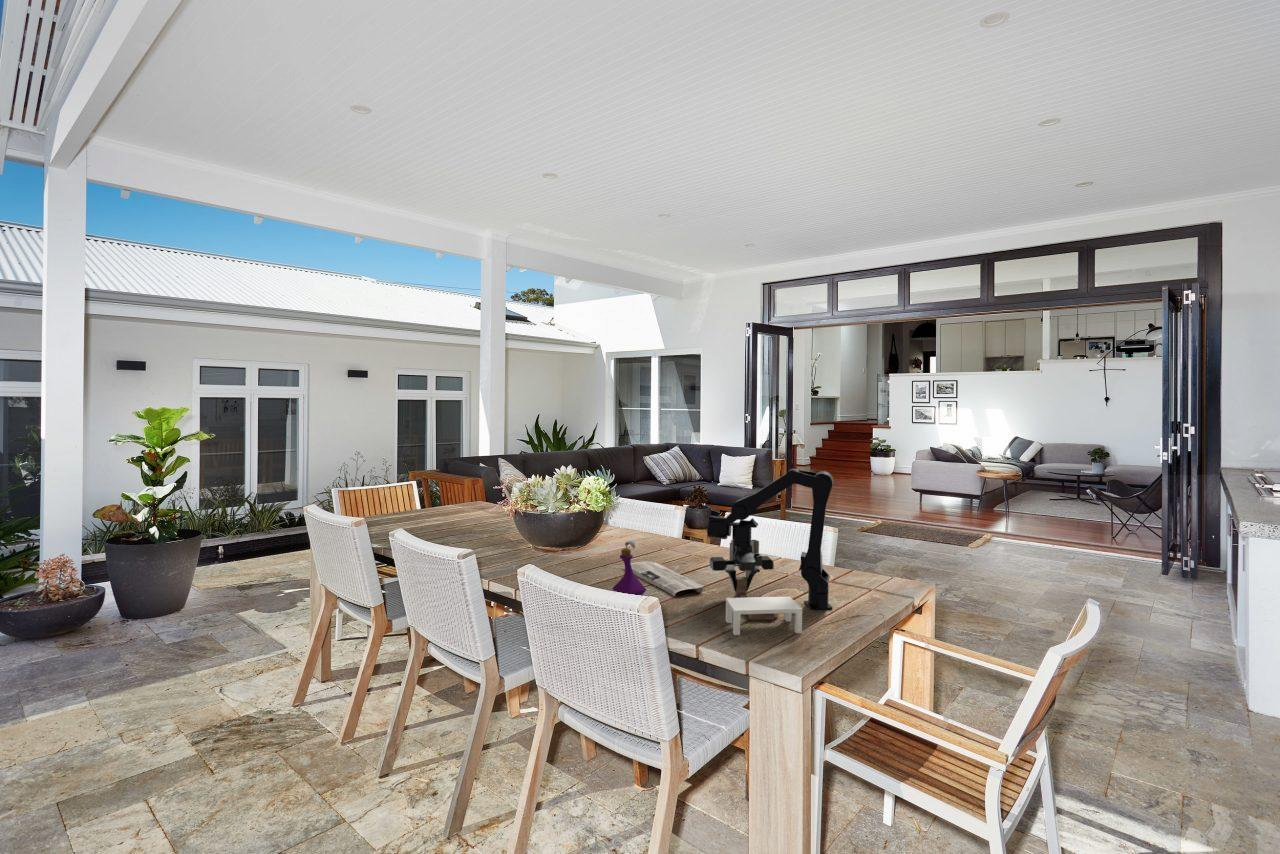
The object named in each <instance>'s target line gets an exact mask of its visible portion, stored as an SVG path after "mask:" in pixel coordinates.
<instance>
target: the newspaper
mask: <svg viewBox="0 0 1280 854" xmlns="http://www.w3.org/2000/svg"><path fill="white" fill-rule="evenodd" d="M630 563H631V562H630ZM631 568H632V570H633V573H634V575H635V576H636V577H637V578H638V579H639V578H640V579H641V580H643V581H645V582H646V583H648V582H649V583H648V584H650V583H651V585H652V584H653V585H652V586H654V585H655V586H654V587H656V586H657V587H659V588H661V589H663V590H665V591H667V592H668V593H670V594H672V595H673V596H672V595H671V596H672V597H674V596H675V595H677V593H679V592H682V591H685V590H692V589H693V590H692V591H694V590H695V592H696V593H702V591H703V587H705V586H707V583H705V582H702V581H699V580H696V579H693V578H692V577H687V576H685V575H682V574H679V573H678V572H676V571H674V570H672V569H670V568H669V567H666V566H664V565H663V564H661V563H659V562H656V561H655V562H652V561H649V560H648V561H638V562H637V561H636V562H632V563H631ZM623 569H624V570H625V565H624V566H623ZM657 587H656V588H657ZM659 588H658V589H659ZM661 589H660V590H661ZM663 590H662V591H663ZM665 591H664V592H665ZM667 592H666V593H667ZM668 593H667V594H668ZM670 594H669V595H670ZM675 597H676V596H675Z"/></svg>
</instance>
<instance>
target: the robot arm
mask: <svg viewBox="0 0 1280 854" xmlns="http://www.w3.org/2000/svg"><path fill="white" fill-rule="evenodd" d="M834 483H835V481H834V477H833V475H832V474H831V473H830V472H828V471H825V470H821V471H818V472H816V471H815V472H814V471H808V470H801V469H797V468H790V469H789V470H788V471H787V472H786V473H785V474H783V475H781V476H780V477H778V478H777V479H775V480H774V481H772V482H770V483H769V484H767V485H766V486H764V487H763V488H760V490H758V491H756V492H753V493H752V494H749V495H748V494H747V496H743V497H741V498H739V499H737V500H736V501H735V502H734V503H733V504H732V505H731V510H730V511H731V512H730V513H729V514H728V515H727V516H725V517H724V516H717V515H710V516H709V519H708V524H707V528H706V534H707V538H708V539H719V540H727V539H728V537H731V536H732V538H731V540H732V556H731V558H732V560H730V559H725V558H724V557H723V556H711V557H710V558H709V567H710V568H711V569H712V571H714V572H718V571H720V572H721V571H724V572H726V573H727V574H728V576H729V578H730V582H731V584H732V587H733V590H734V592H735V591H736V589H737V585H736V577H737V571H736V569H735V567H738V569H739V571H740V572H745V577H746V579H747V592H748V591H749V588H750V585H751V583H752V580H753V578H754V576H755V575H756V574H757V573H760V572H761V570H760V569H759V568H760V567H761V568H762V569H763V570H774V569H775V563H774V560H773V559H772V558H770V557H769V556H768V555H762V553H760V552H759V553H755V554H753V552H752V546H751V540H752V528H753V529H754V528H758V526H759V523H758V522H757V521H755V519H754V518H751V519H749V520H746V519H748V518H749V517H750V516H751V515H752V514H753V513H754V512H755V511H756V510H757V509H758V508H760V506H762V505H763V504H764V503H766V502H767V501H768V500H770V499H772V498H774V497H775V496H776V495H779V494H780V493H781V492H783V491H784V490H785V489H787V488H789V487H790V486H792V485H795V484H796V485H799V486H803V487H806V488H809V489H811V491H812V501H813V505H812V506H813V507H812V514H811V520H810V528H809V529H810V530H809V537H808V538H809V539H808V545H807V546H808V547H807V550H806V551H807V552H806V551H802V552H801V555H800V565H799V567H798V570H799V571H800V574H801V577H802V578H803V580H804V581H806V582H807V586H808V591H807V592H808V593H807V594H808V595H807V596H808V597H807V600H804V601H803V603H804V604H805V605H806V606H807V607H808V608H809V609H810V610H833V606H832V605H831V604H830V603H829V592H830V591H829V589H830V586H829V582H830V579H831V578H830V576H831V575H830V574H829V573H828V572H827V571H826V570H825V569H824V567H823V565H824V564H823V554H822V544H823V535H824V528H825V519H826V512H827V504H828V500H829V498H830V495H831V491H832V488H833V485H834ZM738 520H739V522H737V521H738Z"/></svg>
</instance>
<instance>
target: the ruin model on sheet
mask: <svg viewBox="0 0 1280 854" xmlns="http://www.w3.org/2000/svg"><path fill="white" fill-rule="evenodd" d="M751 546H752V552H753V554H755V553H760V540H757V539H751ZM731 556H732V539H731V540H730V542H729V560H732V558H731Z"/></svg>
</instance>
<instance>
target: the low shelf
mask: <svg viewBox="0 0 1280 854" xmlns="http://www.w3.org/2000/svg"><path fill="white" fill-rule="evenodd" d="M747 597H748V598H736V597H726V598H725V623H726V622H727V623H726V624H732V634H733V635H734V636H741V615H747V614H770V613H779V614H784V615H783V619H784V621H785V622H786V623H787V622H792V614H794V625H793V626H794V627H793V630H794V631H793V632H795V634H803V608H802V607H801V605H799V603H797V602H796V601H795V600H794V599H793V598H792V597H791V596H757V597H756V596H755V597H749V596H747Z"/></svg>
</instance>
